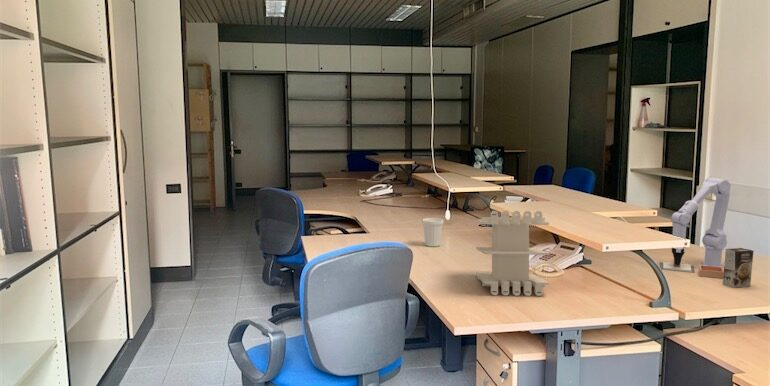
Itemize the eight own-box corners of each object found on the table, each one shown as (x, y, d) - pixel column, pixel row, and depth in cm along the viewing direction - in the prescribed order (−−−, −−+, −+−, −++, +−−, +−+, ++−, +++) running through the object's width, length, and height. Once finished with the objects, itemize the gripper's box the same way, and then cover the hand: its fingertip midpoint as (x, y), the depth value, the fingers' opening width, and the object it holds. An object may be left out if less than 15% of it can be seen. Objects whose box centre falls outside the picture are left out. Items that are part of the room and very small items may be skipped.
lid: (663, 263, 279) (663, 254, 279) (690, 266, 274) (690, 256, 273) (663, 268, 269) (663, 259, 268) (691, 271, 263) (691, 262, 263)
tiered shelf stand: (484, 295, 228) (484, 210, 229) (475, 285, 259) (475, 210, 260) (549, 296, 227) (549, 211, 228) (532, 286, 258) (532, 211, 259)
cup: (419, 247, 317) (420, 220, 315) (424, 242, 329) (424, 217, 327) (441, 248, 314) (441, 222, 312) (445, 243, 326) (445, 218, 324)
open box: (698, 272, 265) (698, 264, 264) (722, 274, 260) (723, 267, 260) (699, 277, 256) (699, 269, 255) (724, 279, 251) (725, 272, 251)
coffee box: (734, 288, 239) (737, 251, 237) (721, 284, 245) (724, 248, 243) (751, 286, 242) (754, 250, 240) (738, 282, 248) (741, 247, 246)
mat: (659, 263, 281) (659, 262, 281) (693, 266, 275) (693, 265, 275) (659, 270, 268) (659, 269, 268) (694, 273, 261) (695, 273, 261)
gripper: (669, 233, 278) (667, 259, 279) (669, 238, 265) (668, 266, 267) (685, 234, 274) (683, 261, 276) (686, 240, 262) (684, 268, 263)
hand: (677, 263), depth 271 cm, fingers open, 3 cm apart
